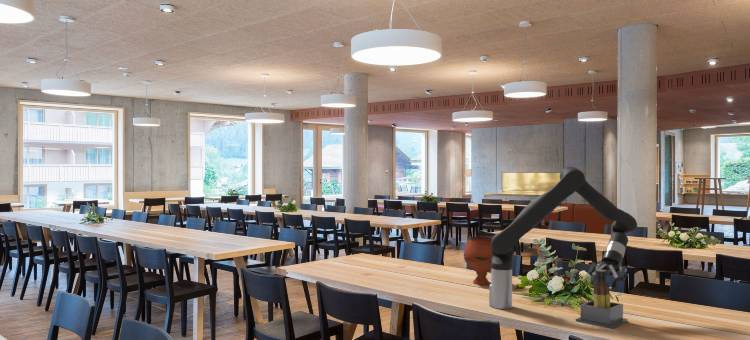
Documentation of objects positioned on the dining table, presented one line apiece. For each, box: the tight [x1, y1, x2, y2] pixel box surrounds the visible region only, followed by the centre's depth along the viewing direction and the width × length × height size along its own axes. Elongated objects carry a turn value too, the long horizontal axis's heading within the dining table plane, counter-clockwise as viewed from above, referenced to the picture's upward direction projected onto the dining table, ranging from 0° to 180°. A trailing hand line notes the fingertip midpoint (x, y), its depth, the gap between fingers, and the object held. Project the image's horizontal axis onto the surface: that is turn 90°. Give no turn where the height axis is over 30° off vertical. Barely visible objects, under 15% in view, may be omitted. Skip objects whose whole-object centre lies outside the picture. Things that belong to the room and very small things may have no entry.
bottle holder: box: [575, 298, 629, 329], centre depth 226 cm, size 15×15×7 cm
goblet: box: [463, 235, 494, 285], centre depth 302 cm, size 19×19×25 cm
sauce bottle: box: [593, 270, 611, 309], centre depth 226 cm, size 6×6×20 cm
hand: (602, 285), depth 226 cm, fingers open, 8 cm apart
